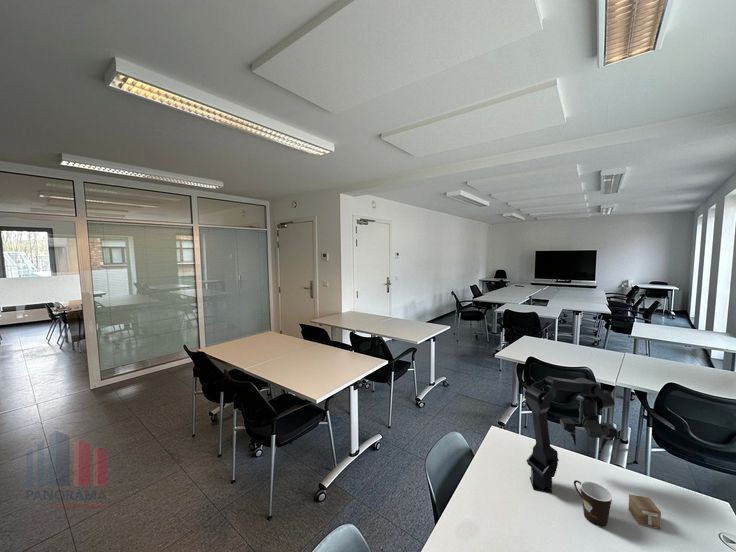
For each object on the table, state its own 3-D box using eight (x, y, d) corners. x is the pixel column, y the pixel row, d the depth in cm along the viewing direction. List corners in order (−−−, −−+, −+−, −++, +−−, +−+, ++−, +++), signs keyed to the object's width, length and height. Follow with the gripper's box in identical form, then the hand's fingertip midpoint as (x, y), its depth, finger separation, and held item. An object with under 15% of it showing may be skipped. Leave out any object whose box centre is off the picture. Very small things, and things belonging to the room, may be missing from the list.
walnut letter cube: (638, 525, 98) (639, 508, 98) (628, 510, 104) (628, 494, 104) (661, 529, 96) (661, 512, 96) (649, 514, 102) (649, 497, 102)
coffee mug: (617, 532, 96) (618, 503, 95) (588, 527, 98) (588, 499, 97) (597, 503, 107) (597, 477, 107) (571, 500, 109) (571, 474, 109)
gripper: (568, 417, 115) (568, 455, 116) (626, 424, 110) (625, 464, 111) (559, 403, 126) (559, 438, 127) (611, 409, 120) (610, 446, 121)
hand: (587, 446), depth 121 cm, fingers open, 9 cm apart
